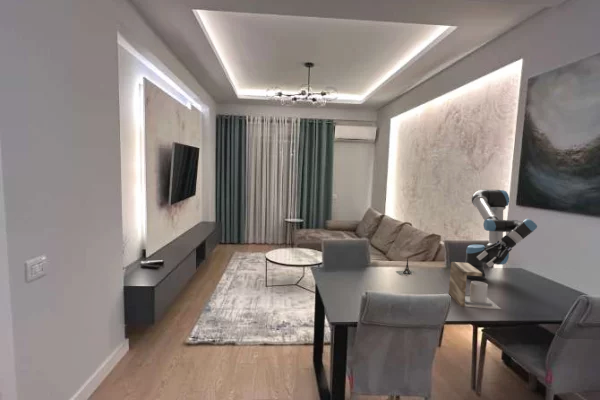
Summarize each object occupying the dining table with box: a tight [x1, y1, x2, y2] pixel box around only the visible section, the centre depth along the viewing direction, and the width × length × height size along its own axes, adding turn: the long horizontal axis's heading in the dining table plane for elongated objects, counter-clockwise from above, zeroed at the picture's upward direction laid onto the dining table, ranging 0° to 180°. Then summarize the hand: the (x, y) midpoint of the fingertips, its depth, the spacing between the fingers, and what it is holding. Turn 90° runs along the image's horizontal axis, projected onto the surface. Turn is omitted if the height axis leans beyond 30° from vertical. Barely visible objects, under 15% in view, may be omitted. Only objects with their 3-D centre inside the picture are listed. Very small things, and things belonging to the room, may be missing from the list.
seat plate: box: [464, 293, 501, 310], centre depth 188 cm, size 18×20×2 cm
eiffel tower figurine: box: [395, 257, 415, 276], centre depth 239 cm, size 15×10×13 cm
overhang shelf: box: [448, 261, 482, 308], centre depth 188 cm, size 10×20×20 cm, turn 173°
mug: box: [469, 280, 489, 303], centre depth 188 cm, size 9×12×11 cm
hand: (482, 262), depth 197 cm, fingers open, 13 cm apart
